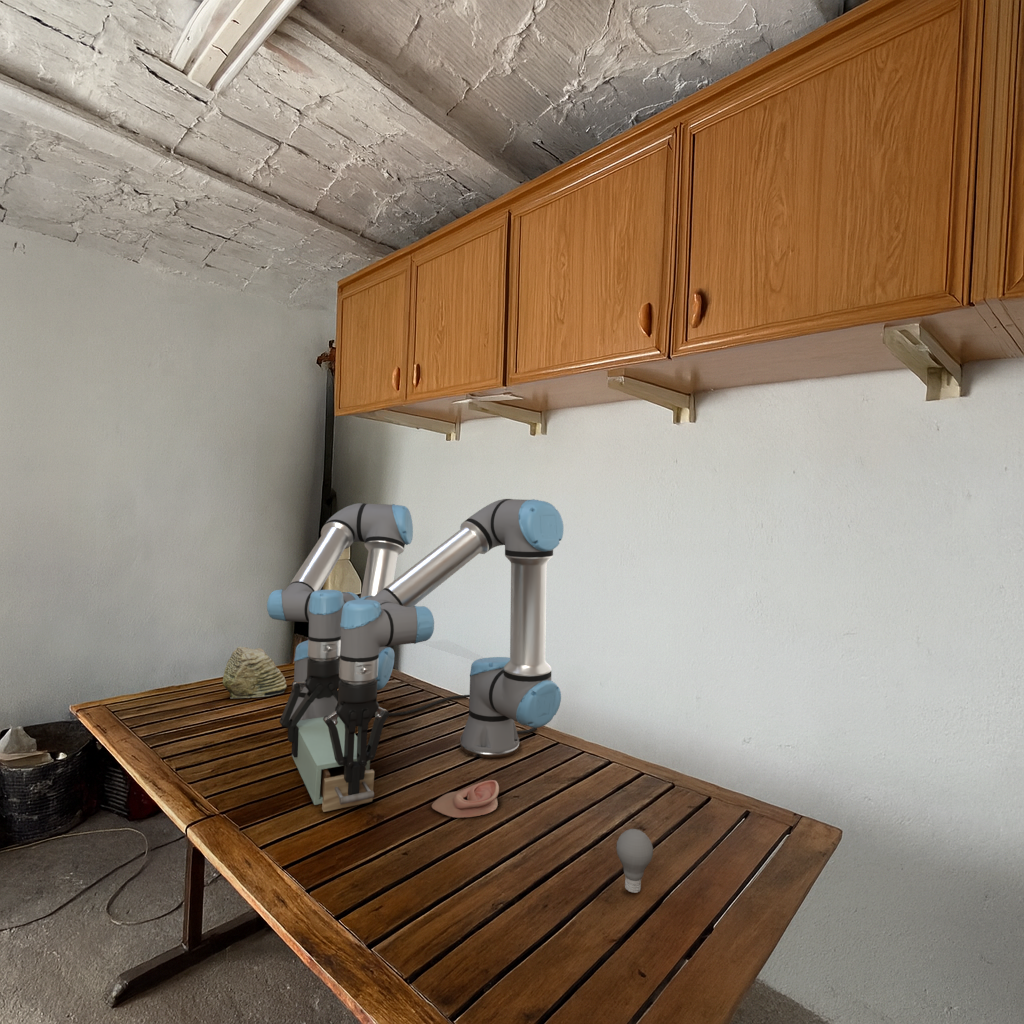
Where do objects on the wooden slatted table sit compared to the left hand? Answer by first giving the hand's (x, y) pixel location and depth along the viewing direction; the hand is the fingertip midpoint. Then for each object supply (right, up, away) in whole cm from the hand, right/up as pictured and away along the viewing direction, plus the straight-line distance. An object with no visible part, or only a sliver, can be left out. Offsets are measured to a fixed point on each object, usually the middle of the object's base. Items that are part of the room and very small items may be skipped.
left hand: (321, 750), depth 147 cm
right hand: (+13, -1, -21) cm, 25 cm away
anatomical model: (+35, -6, -15) cm, 38 cm away
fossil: (-36, -2, +51) cm, 62 cm away
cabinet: (+3, -3, -5) cm, 7 cm away
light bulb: (+65, -8, -42) cm, 77 cm away
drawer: (+7, -3, -12) cm, 15 cm away
